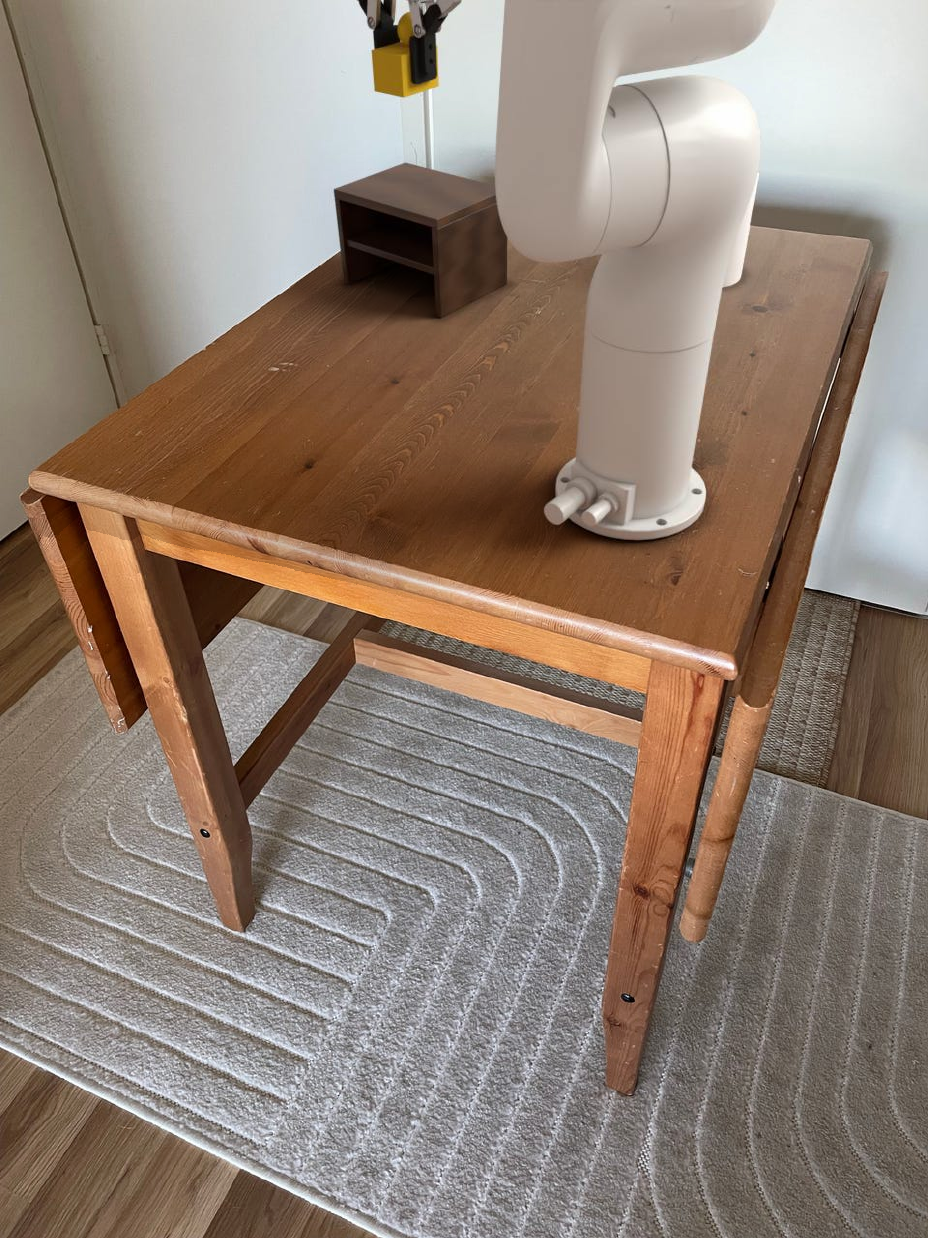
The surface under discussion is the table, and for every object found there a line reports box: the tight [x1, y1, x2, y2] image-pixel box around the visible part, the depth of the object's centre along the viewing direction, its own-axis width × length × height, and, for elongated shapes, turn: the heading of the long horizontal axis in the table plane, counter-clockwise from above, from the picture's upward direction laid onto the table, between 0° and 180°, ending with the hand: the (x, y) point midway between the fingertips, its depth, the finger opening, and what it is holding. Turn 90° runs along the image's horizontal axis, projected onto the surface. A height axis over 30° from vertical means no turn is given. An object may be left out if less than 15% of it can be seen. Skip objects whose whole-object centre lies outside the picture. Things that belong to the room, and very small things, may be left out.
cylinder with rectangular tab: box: [723, 172, 760, 288], centre depth 109 cm, size 9×9×12 cm
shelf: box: [333, 162, 508, 319], centre depth 109 cm, size 12×16×11 cm
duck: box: [371, 11, 440, 98], centre depth 91 cm, size 7×4×6 cm, turn 140°
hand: (406, 75), depth 92 cm, fingers closed on duck, 4 cm apart
